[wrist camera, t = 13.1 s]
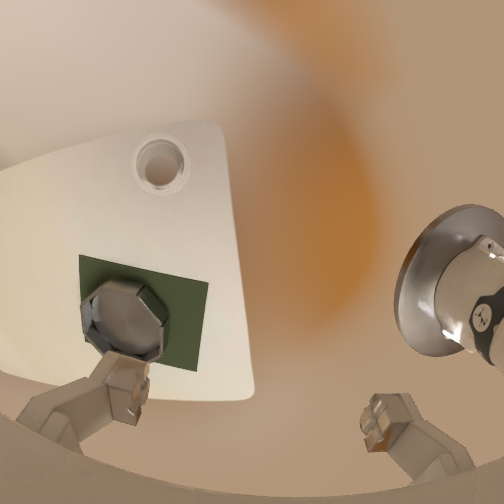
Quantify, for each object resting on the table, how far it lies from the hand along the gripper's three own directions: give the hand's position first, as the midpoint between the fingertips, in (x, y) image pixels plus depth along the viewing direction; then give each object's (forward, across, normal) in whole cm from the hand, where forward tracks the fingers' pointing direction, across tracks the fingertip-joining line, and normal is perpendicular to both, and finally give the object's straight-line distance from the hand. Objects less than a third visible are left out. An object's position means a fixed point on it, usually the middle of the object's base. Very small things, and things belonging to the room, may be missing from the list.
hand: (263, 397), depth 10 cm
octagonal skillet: (+29, +16, +22) cm, 40 cm away
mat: (+29, +15, +18) cm, 37 cm away
